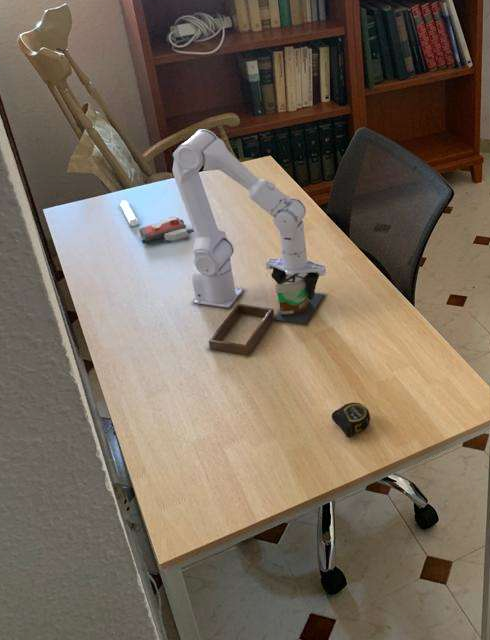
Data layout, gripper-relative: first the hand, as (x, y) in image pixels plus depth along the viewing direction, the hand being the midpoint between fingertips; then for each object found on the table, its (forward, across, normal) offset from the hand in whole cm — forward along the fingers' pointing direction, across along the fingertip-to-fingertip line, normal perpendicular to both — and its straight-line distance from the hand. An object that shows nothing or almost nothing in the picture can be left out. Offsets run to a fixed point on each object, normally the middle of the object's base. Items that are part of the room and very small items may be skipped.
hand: (298, 295), depth 196 cm
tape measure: (+4, +26, -38) cm, 46 cm away
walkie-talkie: (+1, -48, +26) cm, 55 cm away
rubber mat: (+4, 0, 0) cm, 4 cm away
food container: (+4, 0, 0) cm, 4 cm away
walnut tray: (+4, -9, -13) cm, 16 cm away
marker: (+4, -68, +34) cm, 76 cm away
